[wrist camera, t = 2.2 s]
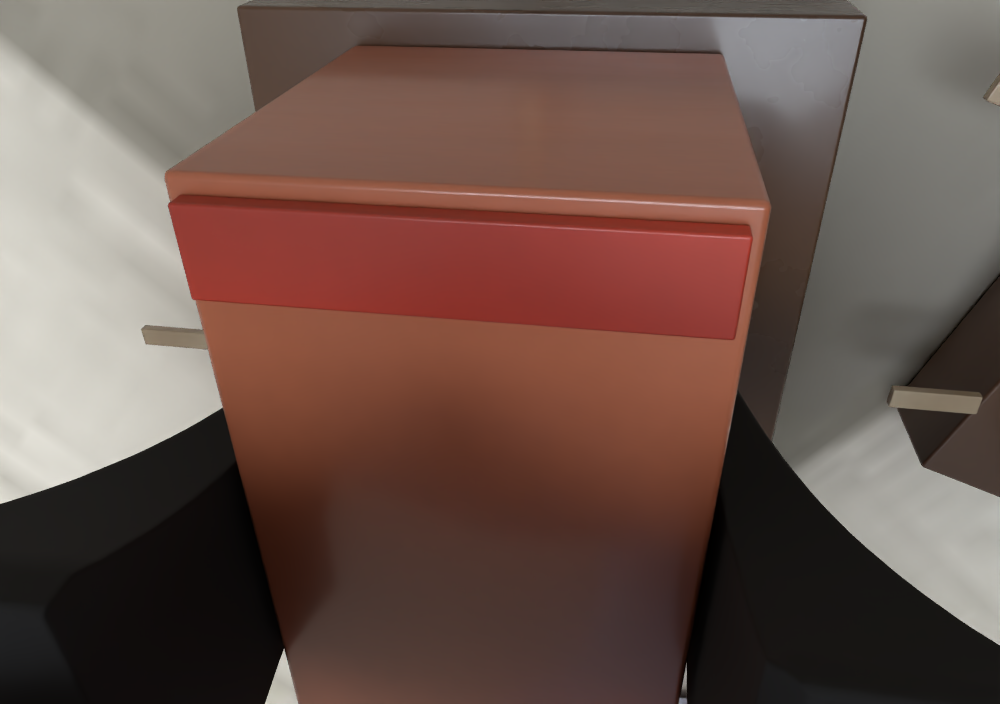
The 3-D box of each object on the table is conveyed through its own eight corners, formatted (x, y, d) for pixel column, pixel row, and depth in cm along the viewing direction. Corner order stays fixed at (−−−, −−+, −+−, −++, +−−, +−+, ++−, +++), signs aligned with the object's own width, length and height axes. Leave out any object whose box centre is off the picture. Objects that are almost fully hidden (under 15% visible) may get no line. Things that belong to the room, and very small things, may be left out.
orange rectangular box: (651, 587, 17) (650, 879, 12) (408, 558, 18) (317, 820, 13) (724, 52, 11) (777, 214, 6) (353, 44, 12) (145, 181, 7)
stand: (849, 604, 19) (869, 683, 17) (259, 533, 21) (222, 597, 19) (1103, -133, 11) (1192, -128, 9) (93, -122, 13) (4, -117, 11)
